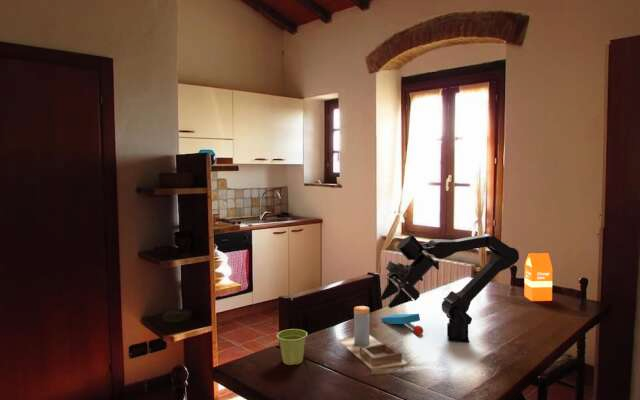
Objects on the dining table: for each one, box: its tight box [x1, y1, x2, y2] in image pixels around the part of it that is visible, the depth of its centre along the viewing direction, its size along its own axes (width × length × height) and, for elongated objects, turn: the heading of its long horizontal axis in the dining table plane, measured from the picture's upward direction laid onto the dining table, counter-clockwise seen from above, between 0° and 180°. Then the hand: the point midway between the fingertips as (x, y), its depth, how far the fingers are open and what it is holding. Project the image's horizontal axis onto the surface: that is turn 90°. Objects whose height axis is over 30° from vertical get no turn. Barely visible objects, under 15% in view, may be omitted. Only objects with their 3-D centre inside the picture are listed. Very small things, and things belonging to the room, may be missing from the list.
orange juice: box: [524, 252, 553, 302], centre depth 211 cm, size 8×9×20 cm
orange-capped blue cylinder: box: [353, 305, 370, 347], centre depth 159 cm, size 5×5×12 cm
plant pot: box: [276, 328, 308, 366], centre depth 148 cm, size 9×9×9 cm
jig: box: [337, 334, 409, 374], centre depth 153 cm, size 26×12×4 cm, turn 20°
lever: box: [380, 313, 424, 336], centre depth 176 cm, size 7×7×18 cm
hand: (384, 303), depth 160 cm, fingers open, 9 cm apart
